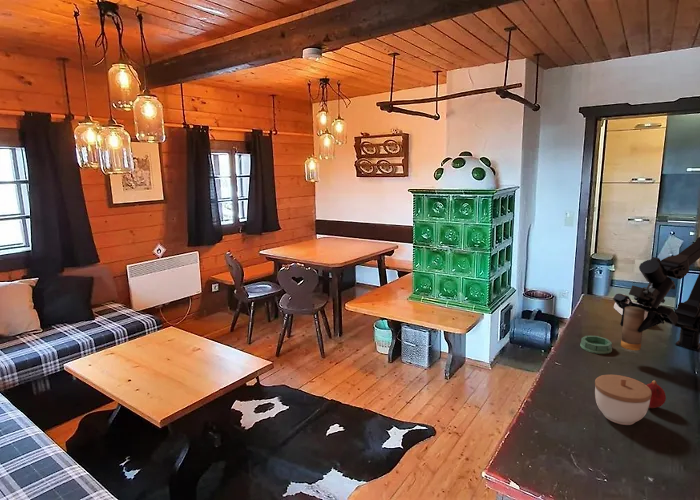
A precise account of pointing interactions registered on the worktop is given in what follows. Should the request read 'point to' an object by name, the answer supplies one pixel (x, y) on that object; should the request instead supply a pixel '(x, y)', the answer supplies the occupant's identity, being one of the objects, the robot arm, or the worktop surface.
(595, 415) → the worktop surface
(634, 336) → the sleeve
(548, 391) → the worktop surface
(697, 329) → the robot arm
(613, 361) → the worktop surface
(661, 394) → the onion
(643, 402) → the lidded bowl
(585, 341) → the socket
